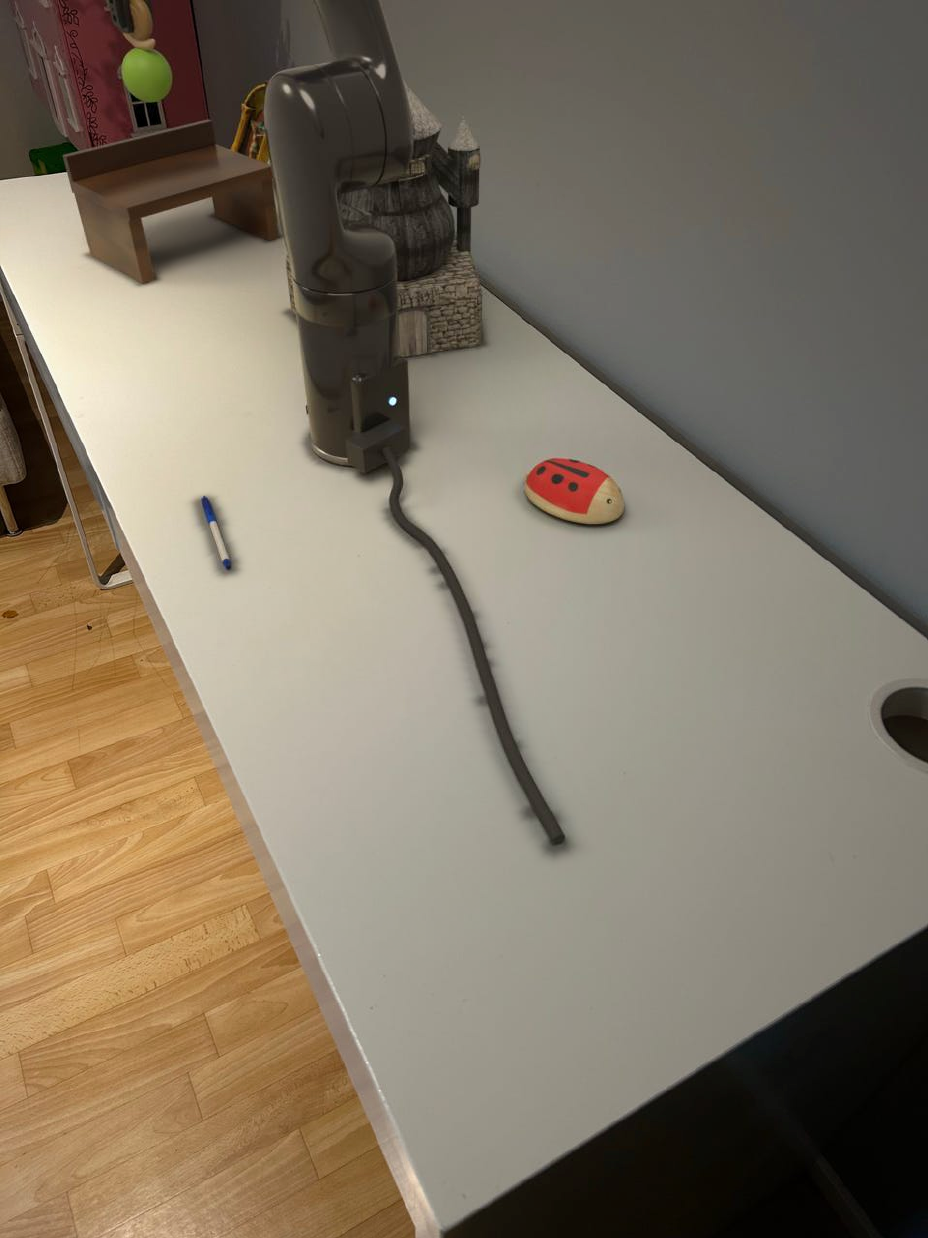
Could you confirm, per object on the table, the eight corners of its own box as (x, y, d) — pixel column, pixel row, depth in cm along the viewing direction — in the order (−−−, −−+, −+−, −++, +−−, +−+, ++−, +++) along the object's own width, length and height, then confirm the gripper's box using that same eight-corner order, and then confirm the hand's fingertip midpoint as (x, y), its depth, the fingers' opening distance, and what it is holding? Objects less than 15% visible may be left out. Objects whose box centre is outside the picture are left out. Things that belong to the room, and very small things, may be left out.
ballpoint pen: (199, 503, 86) (197, 494, 85) (208, 501, 86) (206, 492, 85) (225, 571, 79) (223, 562, 78) (236, 569, 79) (234, 559, 78)
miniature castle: (317, 370, 104) (283, 64, 83) (289, 308, 115) (254, 25, 95) (507, 342, 109) (519, 47, 89) (463, 285, 120) (465, 12, 100)
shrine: (283, 176, 150) (270, 70, 140) (294, 193, 144) (282, 84, 134) (210, 184, 147) (192, 76, 137) (219, 201, 141) (201, 91, 131)
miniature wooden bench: (281, 238, 131) (269, 141, 123) (145, 284, 120) (121, 181, 111) (223, 211, 138) (207, 118, 130) (88, 253, 127) (62, 154, 118)
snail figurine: (150, 89, 110) (126, -33, 102) (186, 100, 108) (165, -25, 99) (112, 99, 107) (84, -26, 99) (148, 111, 105) (123, -17, 96)
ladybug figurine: (606, 539, 82) (611, 506, 80) (507, 505, 86) (509, 473, 83) (635, 500, 87) (640, 468, 84) (539, 469, 90) (542, 438, 88)
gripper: (49, -170, 85) (98, 47, 97) (177, -177, 92) (207, 26, 105) (9, -177, 89) (60, 34, 101) (135, -182, 96) (169, 14, 108)
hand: (135, 29), depth 103 cm, fingers closed on snail figurine
